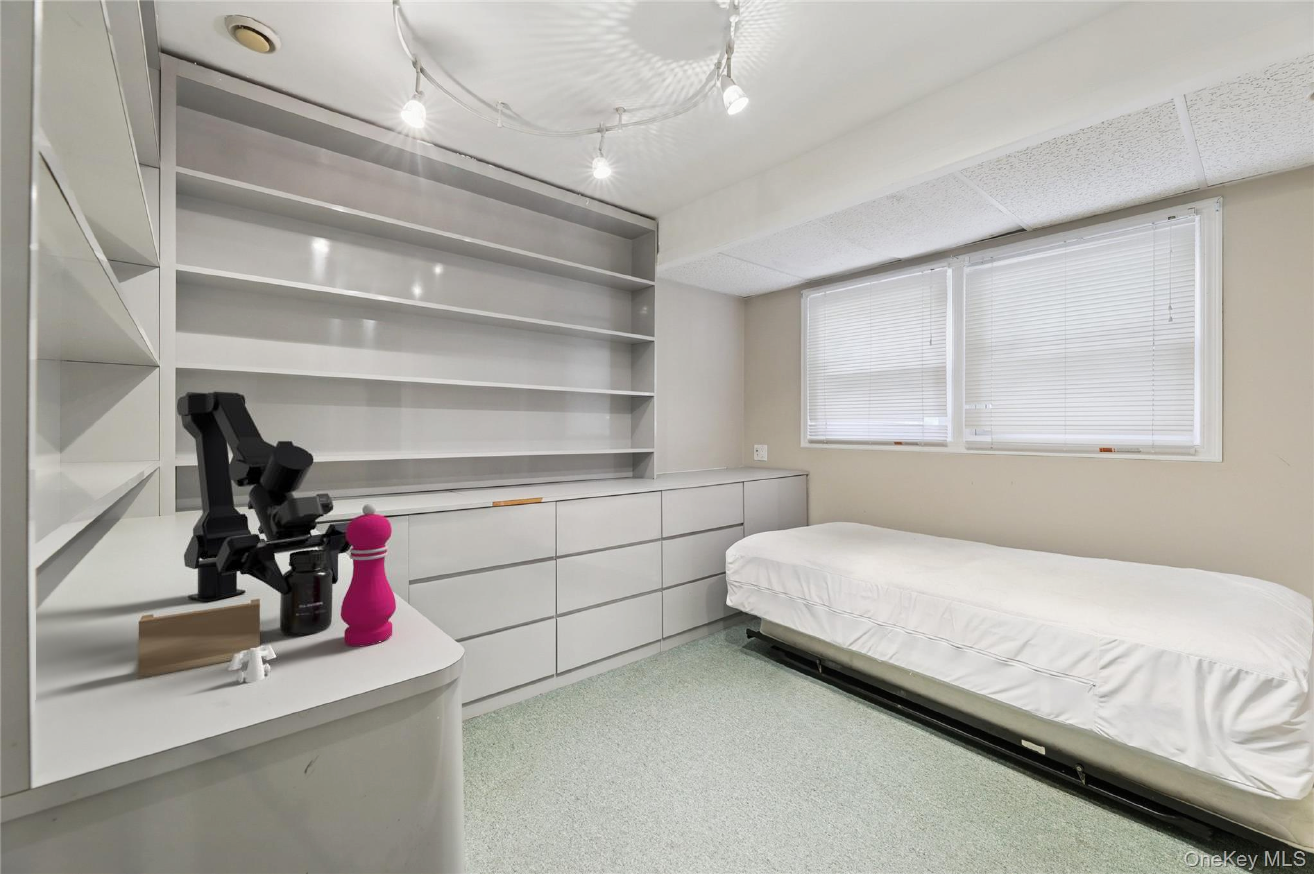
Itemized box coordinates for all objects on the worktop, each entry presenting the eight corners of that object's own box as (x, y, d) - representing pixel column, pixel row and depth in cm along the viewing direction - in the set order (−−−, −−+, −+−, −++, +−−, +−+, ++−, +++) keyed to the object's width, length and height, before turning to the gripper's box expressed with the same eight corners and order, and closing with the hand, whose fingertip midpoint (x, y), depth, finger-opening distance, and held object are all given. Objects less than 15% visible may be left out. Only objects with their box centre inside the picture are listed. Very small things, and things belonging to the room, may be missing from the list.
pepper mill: (405, 630, 82) (406, 501, 82) (376, 648, 75) (376, 506, 75) (361, 629, 83) (362, 500, 83) (328, 647, 76) (329, 506, 76)
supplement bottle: (306, 638, 79) (307, 557, 79) (268, 635, 80) (268, 555, 80) (342, 623, 86) (343, 548, 86) (306, 620, 87) (307, 547, 87)
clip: (274, 669, 68) (274, 640, 68) (280, 673, 67) (281, 643, 67) (226, 684, 64) (226, 653, 64) (232, 688, 63) (232, 656, 63)
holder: (151, 651, 74) (151, 600, 74) (258, 632, 82) (258, 586, 82) (138, 678, 66) (138, 621, 66) (259, 654, 73) (259, 603, 73)
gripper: (224, 482, 77) (258, 567, 71) (354, 475, 93) (390, 544, 87) (202, 531, 81) (233, 616, 76) (330, 516, 97) (364, 585, 91)
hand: (311, 587), depth 82 cm, fingers closed on supplement bottle, 7 cm apart
